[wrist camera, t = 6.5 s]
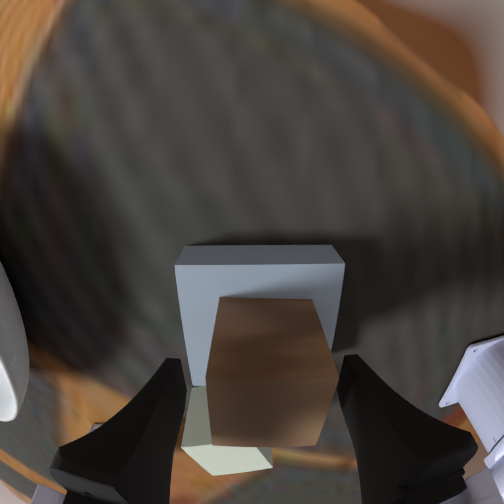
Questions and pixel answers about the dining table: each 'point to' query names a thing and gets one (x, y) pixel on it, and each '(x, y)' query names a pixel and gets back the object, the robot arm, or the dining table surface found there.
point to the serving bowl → (11, 352)
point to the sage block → (217, 457)
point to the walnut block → (268, 373)
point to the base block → (252, 287)
